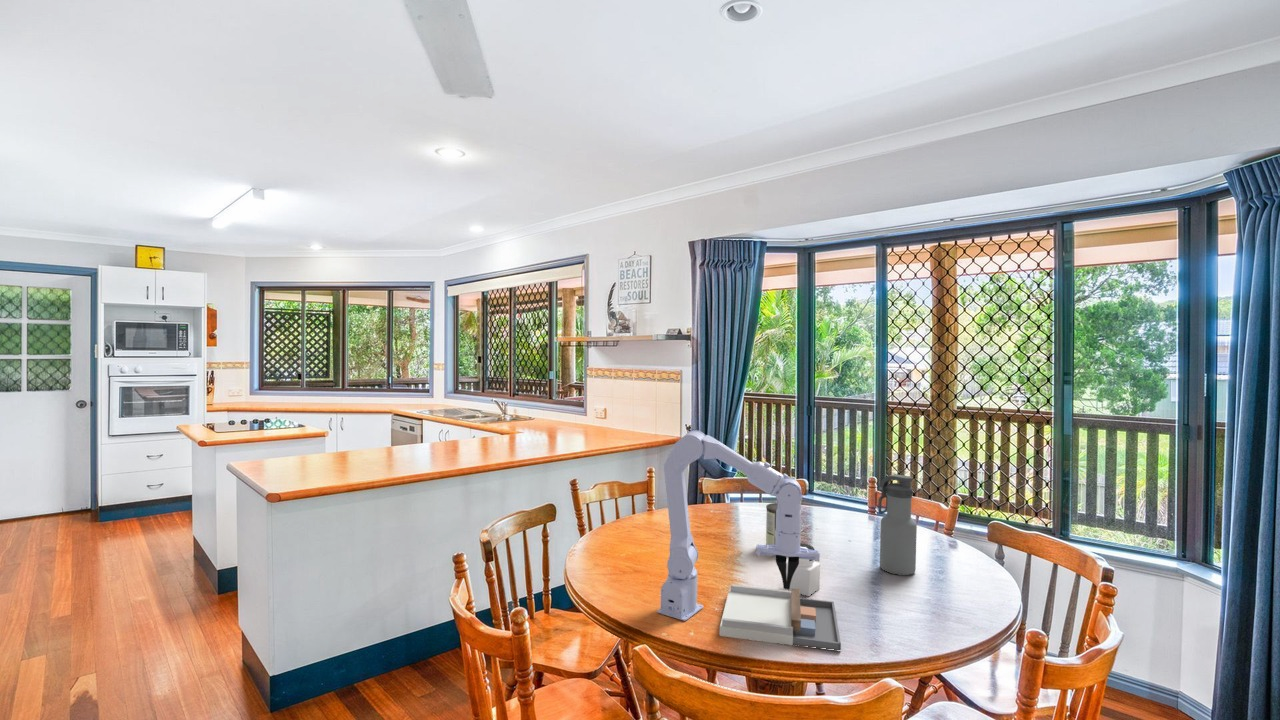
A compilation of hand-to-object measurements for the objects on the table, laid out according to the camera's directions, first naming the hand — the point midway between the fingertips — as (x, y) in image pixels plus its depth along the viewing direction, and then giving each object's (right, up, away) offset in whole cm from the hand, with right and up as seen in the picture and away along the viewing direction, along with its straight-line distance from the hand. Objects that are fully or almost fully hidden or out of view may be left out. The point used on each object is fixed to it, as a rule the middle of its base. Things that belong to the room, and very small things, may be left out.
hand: (786, 587), depth 142 cm
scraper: (+2, -6, 0) cm, 7 cm away
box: (+6, -9, -1) cm, 11 cm away
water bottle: (+41, -9, +35) cm, 55 cm away
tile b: (+3, -8, -4) cm, 10 cm away
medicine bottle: (+9, -8, +20) cm, 23 cm away
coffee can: (+11, -8, +51) cm, 53 cm away
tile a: (+5, -8, +2) cm, 10 cm away
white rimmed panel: (-6, -8, +2) cm, 11 cm away
